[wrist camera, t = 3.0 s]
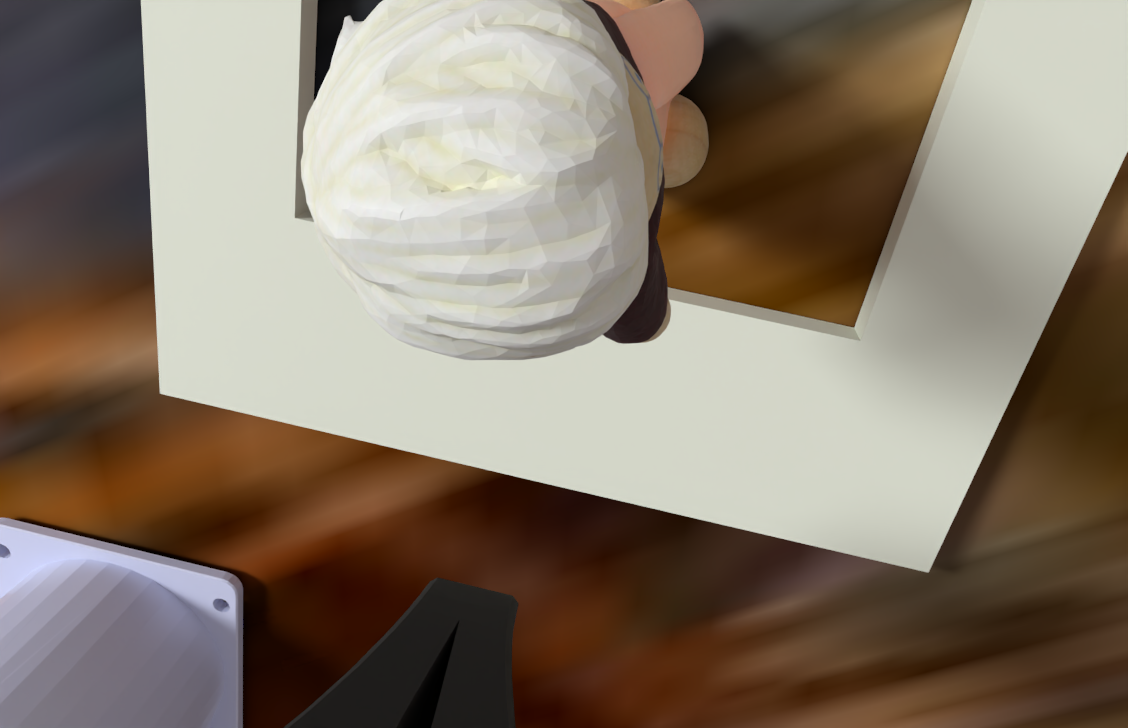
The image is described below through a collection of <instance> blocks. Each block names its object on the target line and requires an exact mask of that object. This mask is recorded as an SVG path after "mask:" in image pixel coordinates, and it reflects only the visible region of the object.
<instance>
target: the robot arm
mask: <svg viewBox="0 0 1128 728" xmlns="http://www.w3.org/2000/svg"><path fill="white" fill-rule="evenodd" d="M222 599H223V600H225V601H226V602H227V603H226V602H224V601H223V600H222ZM517 608H518V602H517V601H516V600H515V598H514V597H513V596H511V595H507V594H503V593H499V592H495V591H491V590H487V589H482V588H478V587H474V586H470V585H466V584H462V583H458V582H454V581H449V580H445V579H441V578H436V579H434V580H432V581H430V582H429V584H428V585H427V586H426V588H425V589H424V590H423V592H422V593H421V594H420V595H419V597H418V598H417V599H416V600H415V601H414V603H413V604H412V605H411V606H410V607H409V609H408V610H407V611H406V612H405V613H404V614H403V615H402V617H401V618H400V619H399V620H398V621H397V622H396V623H395V624H394V625H393V626H392V628H391V629H390V630H389V631H388V632H387V633H386V634H385V635H384V636H383V637H382V638H381V639H380V640H379V641H378V642H377V643H376V644H375V645H374V646H373V647H372V648H371V649H370V650H369V651H368V652H367V653H366V654H365V655H364V656H363V657H362V658H361V659H360V660H359V661H358V662H357V663H356V664H355V665H354V666H353V667H352V668H351V669H350V670H349V671H348V672H347V673H346V674H345V675H344V676H343V677H342V678H340V679H339V680H338V681H337V682H336V683H335V684H334V685H333V686H331V687H330V688H329V689H328V690H327V691H326V692H325V693H324V694H323V695H321V696H320V697H319V698H318V699H317V700H316V701H315V702H314V703H313V704H311V705H310V706H309V707H308V708H307V709H306V710H304V711H303V712H302V713H301V714H300V715H298V716H297V717H296V718H295V719H293V720H292V721H291V722H290V723H289V724H287V725H286V726H285V727H284V728H516V727H515V718H514V703H513V689H512V637H513V628H514V623H515V618H516V613H517ZM0 728H243V586H242V583H241V582H240V580H239V579H238V578H237V577H236V576H235V575H233V574H231V573H229V572H225V571H221V570H217V569H213V568H209V567H205V566H200V565H196V564H192V563H188V562H184V561H180V560H176V559H172V558H168V557H164V556H160V555H156V554H152V553H147V552H143V551H139V550H135V549H131V548H127V547H123V546H119V545H115V544H111V543H107V542H103V541H99V540H94V539H90V538H86V537H82V536H78V535H74V534H70V533H66V532H62V531H58V530H54V529H50V528H46V527H41V526H37V525H33V524H29V523H25V522H21V521H17V520H13V519H9V518H0Z"/></svg>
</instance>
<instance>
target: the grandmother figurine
mask: <svg viewBox="0 0 1128 728" xmlns="http://www.w3.org/2000/svg"><path fill="white" fill-rule="evenodd" d="M703 45H704V33H703V29H702V25H701V22H700V19H699V17H698V15H697V13H696V11H695V9H694V8H693V6H692V5H691V4H690V3H689V2H688V1H687V0H664V1H662V2H660V0H383V1H382V2H381V3H379V4H378V5H377V6H376V8H375V9H374V10H373V11H372V12H371V13H370V15H369V16H368V17H367V18H366V19H365V20H364V21H362V22H356V21H353V20H352V18H351V16H347V17H345V18H344V23H343V28H342V30H341V32H340V34H339V37H338V40H337V44H336V47H335V50H334V53H333V56H332V60H331V65H330V69H329V71H328V73H327V75H326V77H325V79H324V81H323V83H322V85H321V87H320V90H319V92H318V95H317V97H316V99H315V101H314V103H313V105H312V107H311V109H310V110H309V112H308V115H307V119H306V122H305V126H304V130H303V155H302V159H301V178H302V182H303V186H304V189H305V194H306V202H307V205H308V207H309V210H310V212H311V215H312V217H313V220H314V225H315V230H316V233H317V236H318V239H319V242H320V244H321V245H322V247H323V249H324V251H325V253H326V255H327V256H328V258H329V260H330V261H331V263H332V265H333V266H334V268H335V270H336V271H337V273H338V274H339V276H340V277H341V278H342V279H343V280H344V281H345V282H346V283H347V284H348V285H349V286H350V287H351V288H352V289H353V290H354V291H355V292H356V293H357V294H358V296H359V299H360V301H361V303H362V305H363V308H364V309H365V310H366V311H367V313H368V314H369V315H370V317H371V318H372V319H373V320H374V321H376V322H377V323H378V324H379V325H380V326H381V327H382V328H383V329H384V330H385V331H386V332H387V333H389V334H390V335H392V336H393V337H395V338H396V339H398V340H399V341H402V342H404V343H406V344H408V345H411V346H413V347H416V348H420V349H424V350H428V351H432V352H435V353H439V354H442V355H446V356H449V357H454V358H459V359H464V360H526V359H534V358H542V357H547V356H551V355H555V354H558V353H562V352H565V351H568V350H571V349H574V348H575V347H578V346H583V345H585V344H588V343H590V342H592V341H593V340H595V339H596V338H598V337H600V336H601V335H604V336H605V337H606V338H608V339H610V340H613V341H615V342H617V343H622V344H631V343H645V342H649V341H652V340H654V339H656V338H658V337H659V336H660V335H661V334H662V333H663V332H664V331H665V329H666V328H667V326H668V324H669V322H670V317H671V305H670V302H669V299H668V286H667V277H666V274H665V270H664V264H663V260H662V256H661V252H660V248H659V245H658V242H657V239H656V237H657V233H658V228H659V222H660V216H661V211H662V205H663V194H664V188H670V187H676V186H679V185H682V184H685V183H686V182H688V181H690V180H691V179H692V178H693V177H695V176H696V175H697V173H698V172H699V171H700V169H701V168H702V166H703V164H704V163H705V160H706V157H707V154H708V147H709V140H708V129H707V123H706V120H705V118H704V116H703V114H702V112H701V111H700V109H699V108H698V107H697V106H696V105H695V104H694V103H693V102H692V101H691V100H689V99H687V98H685V97H684V96H682V95H678V93H679V92H680V91H681V90H682V89H683V88H684V87H685V86H686V85H687V84H688V83H689V82H690V81H691V80H692V78H693V77H694V76H695V74H696V73H697V71H698V69H699V66H700V64H701V61H702V55H703Z"/></svg>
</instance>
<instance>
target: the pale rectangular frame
mask: <svg viewBox="0 0 1128 728" xmlns="http://www.w3.org/2000/svg"><path fill="white" fill-rule="evenodd" d="M317 4H318V0H141V11H142V32H143V53H144V73H145V94H146V115H147V135H148V156H149V177H150V198H151V218H152V239H153V260H154V280H155V301H156V322H157V342H158V363H159V384H160V394H164V395H168V396H173V397H177V398H181V399H185V400H190V401H194V402H198V403H203V404H207V405H211V406H216V407H220V408H224V409H228V410H233V411H237V412H241V413H246V414H250V415H254V416H258V417H263V418H267V419H271V420H276V421H280V422H284V423H288V424H293V425H297V426H301V427H306V428H310V429H314V430H318V431H323V432H327V433H331V434H336V435H340V436H344V437H349V438H353V439H357V440H361V441H366V442H370V443H374V444H379V445H383V446H387V447H391V448H396V449H400V450H404V451H409V452H413V453H417V454H421V455H426V456H430V457H434V458H439V459H443V460H447V461H451V462H456V463H460V464H464V465H469V466H473V467H477V468H482V469H486V470H490V471H494V472H499V473H503V474H507V475H512V476H516V477H520V478H524V479H529V480H533V481H537V482H542V483H546V484H550V485H554V486H559V487H563V488H567V489H572V490H576V491H580V492H584V493H589V494H593V495H597V496H602V497H606V498H610V499H615V500H619V501H623V502H627V503H632V504H636V505H640V506H645V507H649V508H653V509H657V510H662V511H666V512H670V513H675V514H679V515H683V516H687V517H692V518H696V519H700V520H705V521H709V522H713V523H717V524H722V525H726V526H730V527H735V528H739V529H743V530H748V531H752V532H756V533H760V534H765V535H769V536H773V537H778V538H782V539H786V540H790V541H795V542H799V543H803V544H808V545H812V546H816V547H820V548H825V549H829V550H833V551H838V552H842V553H846V554H850V555H855V556H859V557H863V558H868V559H872V560H876V561H881V562H885V563H889V564H893V565H898V566H902V567H906V568H911V569H915V570H919V571H923V572H928V573H929V570H930V568H931V566H932V564H933V562H934V560H935V558H936V556H937V553H938V551H939V549H940V547H941V545H942V543H943V541H944V539H945V537H946V534H947V532H948V530H949V528H950V526H951V524H952V522H953V520H954V518H955V515H956V513H957V511H958V509H959V507H960V505H961V503H962V501H963V499H964V496H965V494H966V492H967V490H968V488H969V486H970V484H971V482H972V479H973V477H974V475H975V473H976V471H977V469H978V467H979V465H980V463H981V460H982V458H983V456H984V454H985V452H986V450H987V448H988V446H989V444H990V441H991V439H992V437H993V435H994V433H995V431H996V429H997V427H998V424H999V422H1000V420H1001V418H1002V416H1003V414H1004V412H1005V410H1006V408H1007V405H1008V403H1009V401H1010V399H1011V397H1012V395H1013V393H1014V391H1015V389H1016V386H1017V384H1018V382H1019V380H1020V378H1021V376H1022V374H1023V372H1024V369H1025V367H1026V365H1027V363H1028V361H1029V359H1030V357H1031V355H1032V353H1033V350H1034V348H1035V346H1036V344H1037V342H1038V340H1039V338H1040V336H1041V334H1042V331H1043V329H1044V327H1045V325H1046V323H1047V321H1048V319H1049V317H1050V315H1051V312H1052V310H1053V308H1054V306H1055V304H1056V302H1057V300H1058V298H1059V295H1060V293H1061V291H1062V289H1063V287H1064V285H1065V283H1066V281H1067V279H1068V276H1069V274H1070V272H1071V270H1072V268H1073V266H1074V264H1075V262H1076V260H1077V257H1078V255H1079V253H1080V251H1081V249H1082V247H1083V245H1084V243H1085V240H1086V238H1087V236H1088V234H1089V232H1090V230H1091V228H1092V226H1093V224H1094V221H1095V219H1096V217H1097V215H1098V213H1099V211H1100V209H1101V207H1102V205H1103V202H1104V200H1105V198H1106V196H1107V194H1108V192H1109V190H1110V188H1111V185H1112V183H1113V181H1114V179H1115V177H1116V175H1117V173H1118V171H1119V169H1120V166H1121V164H1122V162H1123V160H1124V158H1125V156H1126V154H1127V152H1128V0H972V3H971V6H970V9H969V11H968V14H967V17H966V20H965V22H964V25H963V28H962V31H961V33H960V36H959V39H958V42H957V45H956V47H955V50H954V53H953V56H952V58H951V61H950V64H949V67H948V69H947V72H946V75H945V78H944V81H943V83H942V86H941V89H940V92H939V94H938V97H937V100H936V103H935V105H934V108H933V111H932V114H931V117H930V119H929V122H928V125H927V128H926V130H925V133H924V136H923V139H922V141H921V144H920V147H919V150H918V153H917V155H916V158H915V161H914V164H913V166H912V169H911V172H910V175H909V177H908V180H907V183H906V186H905V189H904V191H903V194H902V197H901V200H900V202H899V205H898V208H897V211H896V213H895V216H894V219H893V222H892V225H891V227H890V230H889V233H888V236H887V238H886V241H885V244H884V247H883V249H882V252H881V255H880V258H879V261H878V263H877V266H876V269H875V272H874V274H873V277H872V280H871V283H870V285H869V288H868V291H867V294H866V296H865V299H864V302H863V305H862V308H861V310H860V313H859V316H858V319H857V321H856V324H855V327H854V328H853V327H849V326H844V325H839V324H835V323H830V322H826V321H821V320H816V319H812V318H807V317H803V316H798V315H793V314H789V313H784V312H780V311H775V310H770V309H766V308H761V307H756V306H752V305H747V304H743V303H738V302H733V301H729V300H724V299H720V298H715V297H710V296H706V295H701V294H696V293H692V292H687V291H683V290H678V289H673V288H669V287H668V299H669V302H670V305H671V317H670V322H669V324H668V326H667V328H666V329H665V331H664V332H663V333H662V334H661V335H660V336H659V337H658V338H656V339H654V340H652V341H649V342H645V343H631V344H622V343H617V342H615V341H613V340H610V339H608V338H606V337H605V336H604V335H601V336H600V337H598V338H596V339H595V340H593V341H592V342H590V343H588V344H585V345H583V346H578V347H575V348H574V349H571V350H568V351H565V352H562V353H558V354H555V355H551V356H547V357H542V358H534V359H526V360H464V359H459V358H454V357H449V356H446V355H442V354H439V353H435V352H432V351H428V350H424V349H420V348H416V347H413V346H411V345H408V344H406V343H404V342H402V341H399V340H398V339H396V338H395V337H393V336H392V335H390V334H389V333H387V332H386V331H385V330H384V329H383V328H382V327H381V326H380V325H379V324H378V323H377V322H376V321H374V320H373V319H372V318H371V317H370V315H369V314H368V313H367V311H366V310H365V309H364V308H363V305H362V303H361V301H360V299H359V296H358V294H357V293H356V292H355V291H354V290H353V289H352V288H351V287H350V286H349V285H348V284H347V283H346V282H345V281H344V280H343V279H342V278H341V277H340V276H339V274H338V273H337V271H336V270H335V268H334V266H333V265H332V263H331V261H330V260H329V258H328V256H327V255H326V253H325V251H324V249H323V247H322V245H321V244H320V242H319V239H318V236H317V233H316V230H315V225H314V220H313V217H312V215H311V212H310V210H309V207H308V205H307V202H306V194H305V189H304V186H303V182H302V178H301V159H302V155H303V130H304V126H305V122H306V119H307V115H308V112H309V110H310V109H311V107H312V105H313V103H314V82H315V56H316V30H317Z"/></svg>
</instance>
